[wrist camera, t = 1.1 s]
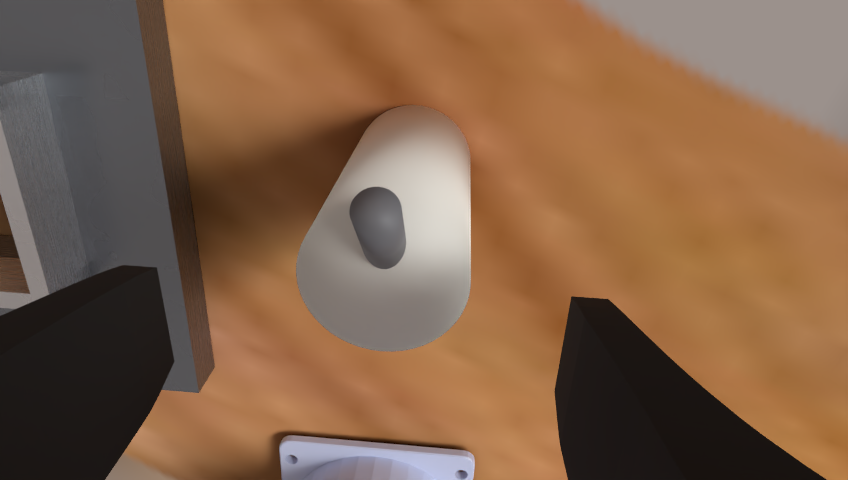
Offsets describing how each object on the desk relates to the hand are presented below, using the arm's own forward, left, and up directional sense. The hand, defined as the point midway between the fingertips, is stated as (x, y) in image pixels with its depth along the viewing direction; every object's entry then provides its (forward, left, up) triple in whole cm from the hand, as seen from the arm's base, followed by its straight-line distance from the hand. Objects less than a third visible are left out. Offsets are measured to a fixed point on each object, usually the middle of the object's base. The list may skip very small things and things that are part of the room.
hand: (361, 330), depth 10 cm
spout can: (0, 0, -9) cm, 9 cm away
